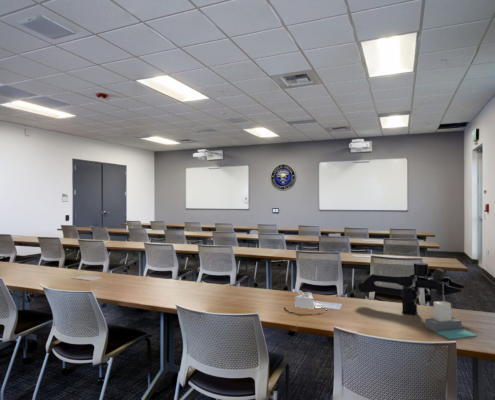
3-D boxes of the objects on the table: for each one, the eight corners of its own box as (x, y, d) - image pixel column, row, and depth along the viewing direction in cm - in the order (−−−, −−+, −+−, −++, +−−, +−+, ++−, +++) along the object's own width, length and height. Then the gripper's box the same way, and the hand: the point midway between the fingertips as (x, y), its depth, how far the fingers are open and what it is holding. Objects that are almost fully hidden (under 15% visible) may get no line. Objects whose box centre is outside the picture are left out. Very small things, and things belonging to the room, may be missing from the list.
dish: (324, 317, 181) (323, 296, 181) (279, 313, 190) (278, 292, 190) (331, 304, 203) (330, 285, 204) (290, 301, 213) (290, 283, 213)
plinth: (425, 327, 162) (425, 318, 162) (450, 324, 165) (450, 316, 165) (435, 332, 156) (435, 323, 156) (461, 329, 158) (461, 320, 158)
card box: (434, 318, 162) (433, 301, 162) (444, 317, 163) (444, 301, 163) (440, 321, 158) (439, 304, 158) (451, 320, 159) (450, 303, 159)
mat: (436, 332, 155) (436, 331, 155) (462, 329, 158) (462, 328, 158) (449, 339, 147) (449, 338, 147) (477, 336, 150) (477, 335, 150)
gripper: (423, 271, 171) (459, 275, 161) (432, 265, 185) (465, 269, 175) (423, 293, 171) (459, 299, 161) (432, 285, 185) (465, 290, 175)
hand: (462, 288), depth 168 cm, fingers open, 9 cm apart
